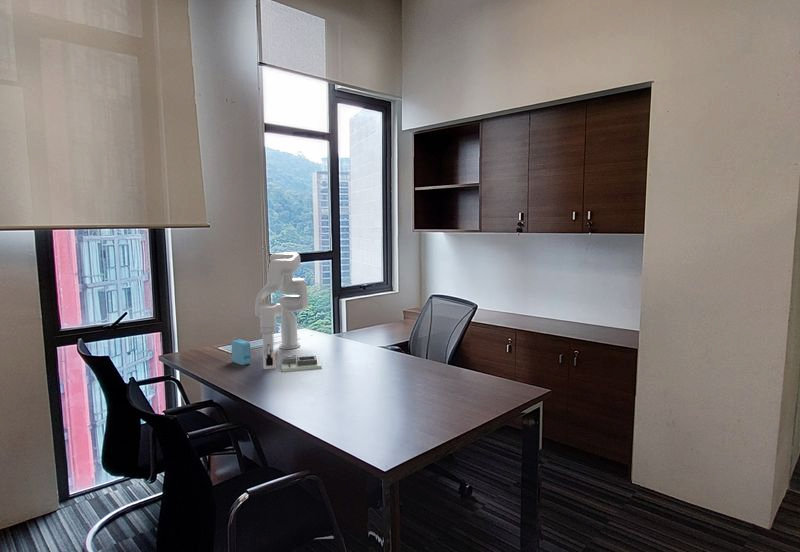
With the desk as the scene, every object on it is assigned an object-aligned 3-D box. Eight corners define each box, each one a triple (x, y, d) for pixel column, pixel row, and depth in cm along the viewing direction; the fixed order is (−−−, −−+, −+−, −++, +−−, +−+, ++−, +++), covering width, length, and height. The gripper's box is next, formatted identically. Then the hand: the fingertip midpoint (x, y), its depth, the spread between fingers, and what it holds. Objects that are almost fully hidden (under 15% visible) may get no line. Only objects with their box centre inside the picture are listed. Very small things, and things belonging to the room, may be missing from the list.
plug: (263, 367, 251) (263, 352, 250) (277, 365, 252) (277, 351, 251) (263, 369, 247) (262, 354, 246) (277, 368, 248) (277, 353, 248)
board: (281, 363, 257) (281, 354, 257) (319, 360, 262) (318, 351, 262) (281, 371, 242) (281, 362, 242) (321, 368, 247) (321, 359, 246)
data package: (251, 364, 257) (250, 342, 256) (243, 365, 254) (242, 343, 252) (239, 360, 265) (238, 338, 264) (232, 361, 262) (231, 340, 260)
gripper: (261, 326, 254) (262, 360, 256) (259, 333, 238) (261, 369, 240) (275, 325, 256) (277, 359, 258) (275, 332, 240) (277, 368, 242)
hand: (269, 363), depth 249 cm, fingers closed on plug, 4 cm apart
